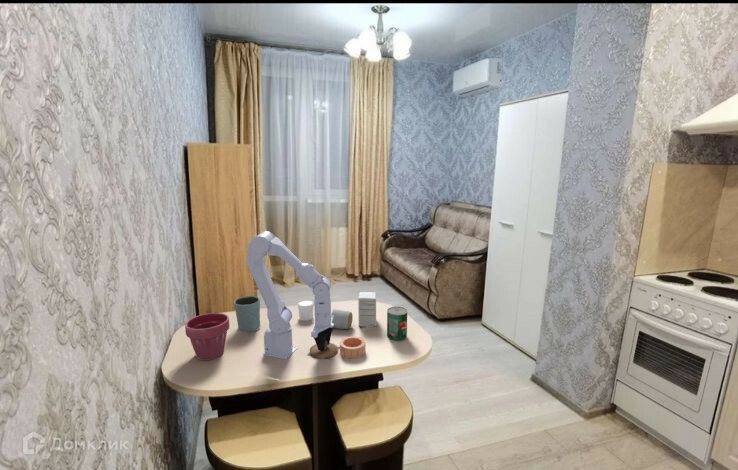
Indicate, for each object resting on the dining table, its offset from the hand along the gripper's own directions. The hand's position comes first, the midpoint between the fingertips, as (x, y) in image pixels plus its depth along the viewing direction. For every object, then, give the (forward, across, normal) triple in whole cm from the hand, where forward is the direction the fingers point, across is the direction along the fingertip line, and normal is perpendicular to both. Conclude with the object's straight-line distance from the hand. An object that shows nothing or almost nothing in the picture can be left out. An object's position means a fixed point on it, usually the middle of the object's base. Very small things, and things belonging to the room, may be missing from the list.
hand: (323, 347), depth 133 cm
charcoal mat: (+2, 0, 0) cm, 2 cm away
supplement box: (+2, +28, -7) cm, 29 cm away
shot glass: (+2, +24, +20) cm, 31 cm away
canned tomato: (+2, +20, -22) cm, 30 cm away
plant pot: (+2, -14, +38) cm, 41 cm away
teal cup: (+2, +8, +38) cm, 39 cm away
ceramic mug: (+2, +22, +2) cm, 22 cm away
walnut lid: (+2, 0, 0) cm, 2 cm away
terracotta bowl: (+2, +3, -10) cm, 11 cm away
